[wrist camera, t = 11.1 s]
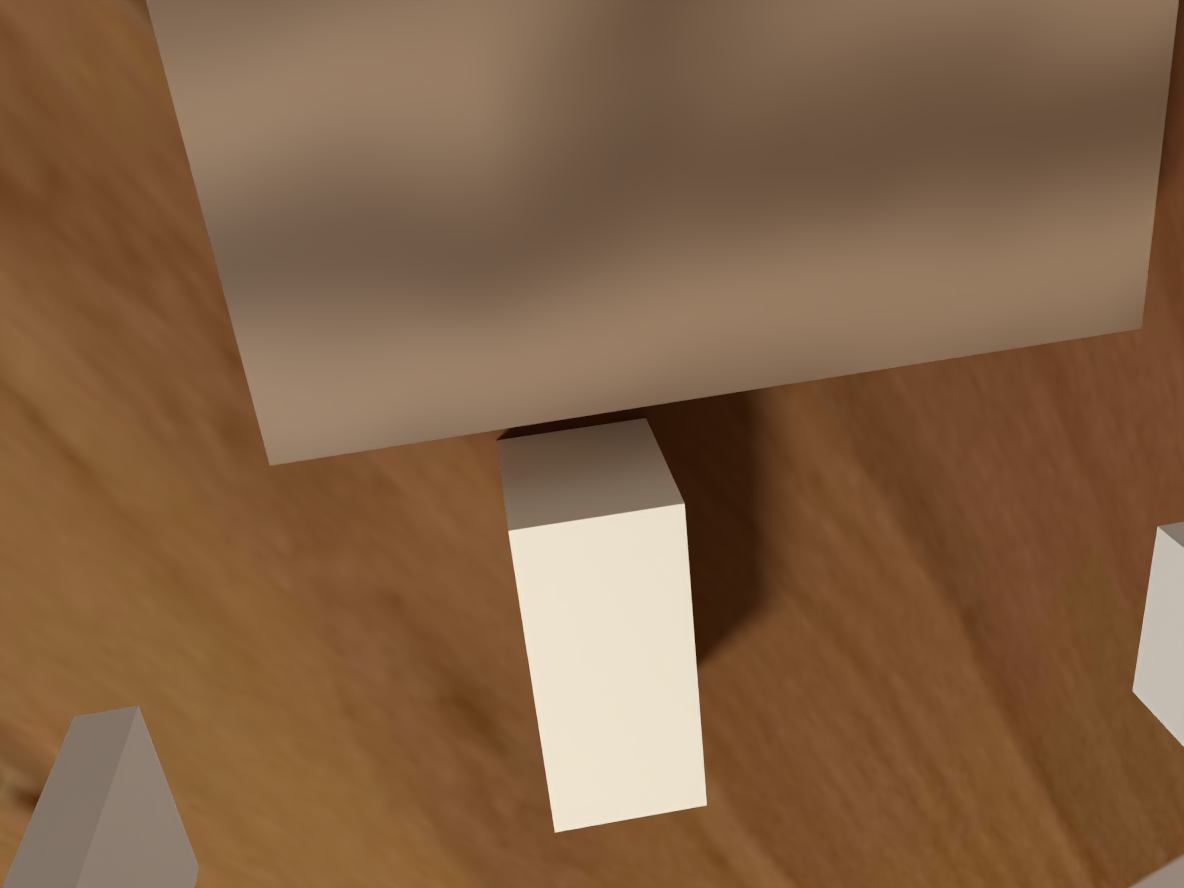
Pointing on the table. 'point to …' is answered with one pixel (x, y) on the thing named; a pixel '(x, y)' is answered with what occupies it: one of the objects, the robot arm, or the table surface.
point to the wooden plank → (653, 195)
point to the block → (606, 620)
